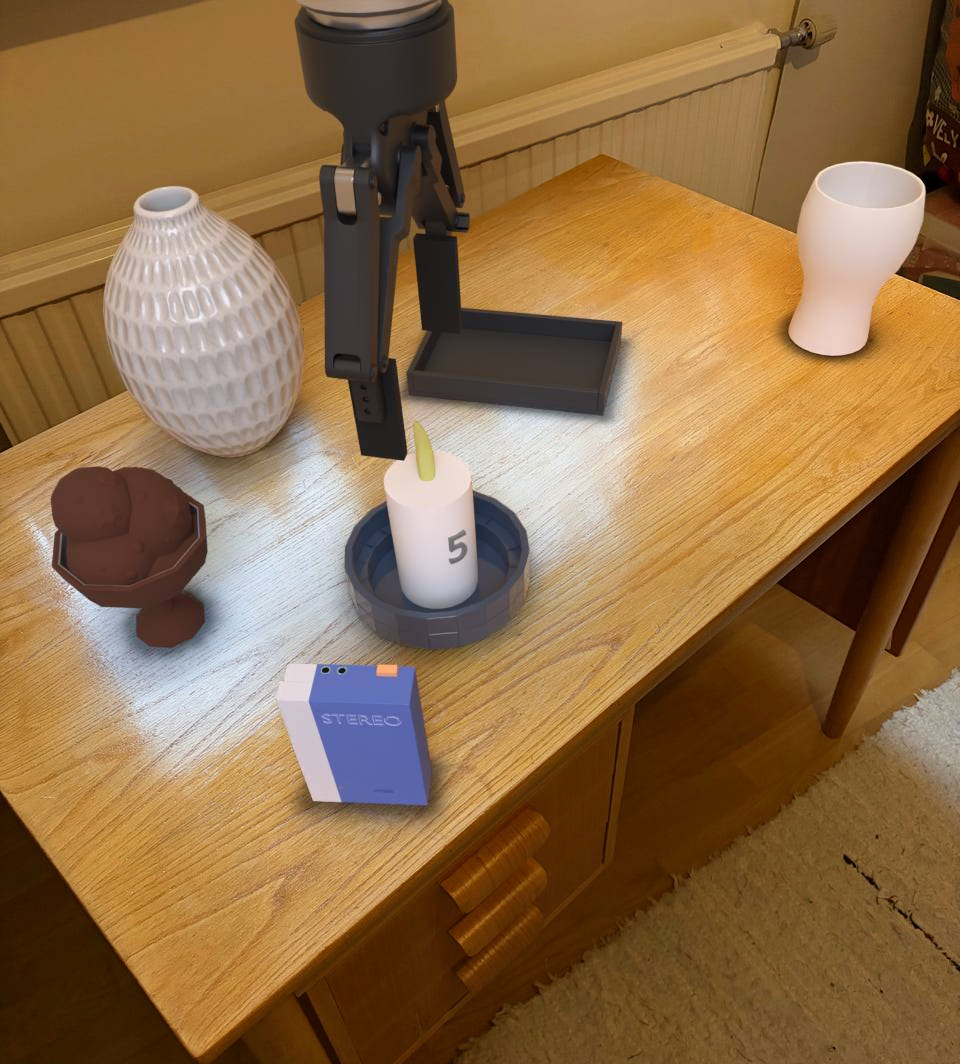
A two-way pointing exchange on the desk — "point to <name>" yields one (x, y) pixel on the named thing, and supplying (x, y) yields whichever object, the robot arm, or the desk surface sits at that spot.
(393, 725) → the walkman
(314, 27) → the robot arm
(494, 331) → the tray
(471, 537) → the candle
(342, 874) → the desk surface
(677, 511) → the desk surface
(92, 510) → the ice cream bowl
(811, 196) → the cup
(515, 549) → the bowl
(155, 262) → the vase
